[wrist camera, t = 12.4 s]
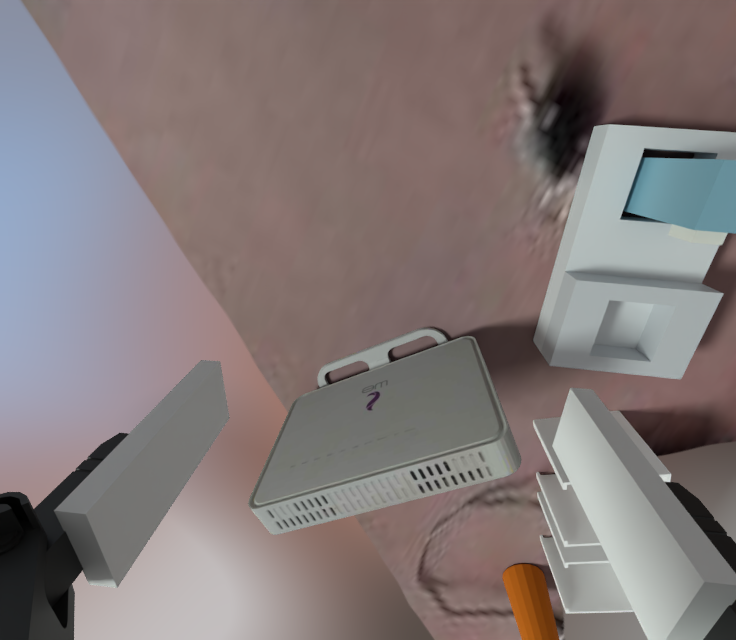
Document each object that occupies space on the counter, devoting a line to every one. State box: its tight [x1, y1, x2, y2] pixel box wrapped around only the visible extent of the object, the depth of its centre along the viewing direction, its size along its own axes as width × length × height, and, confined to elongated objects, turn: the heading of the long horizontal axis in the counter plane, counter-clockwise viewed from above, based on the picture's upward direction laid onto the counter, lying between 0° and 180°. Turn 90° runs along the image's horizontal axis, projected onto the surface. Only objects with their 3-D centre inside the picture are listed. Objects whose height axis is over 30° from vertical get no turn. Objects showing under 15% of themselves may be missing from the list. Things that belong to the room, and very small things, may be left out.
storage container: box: [533, 411, 671, 613], centre depth 50 cm, size 25×11×11 cm, turn 13°
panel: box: [533, 124, 736, 379], centre depth 38 cm, size 24×14×6 cm, turn 176°
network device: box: [248, 327, 521, 535], centre depth 41 cm, size 26×9×20 cm, turn 116°
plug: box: [623, 158, 736, 245], centre depth 33 cm, size 6×5×12 cm
